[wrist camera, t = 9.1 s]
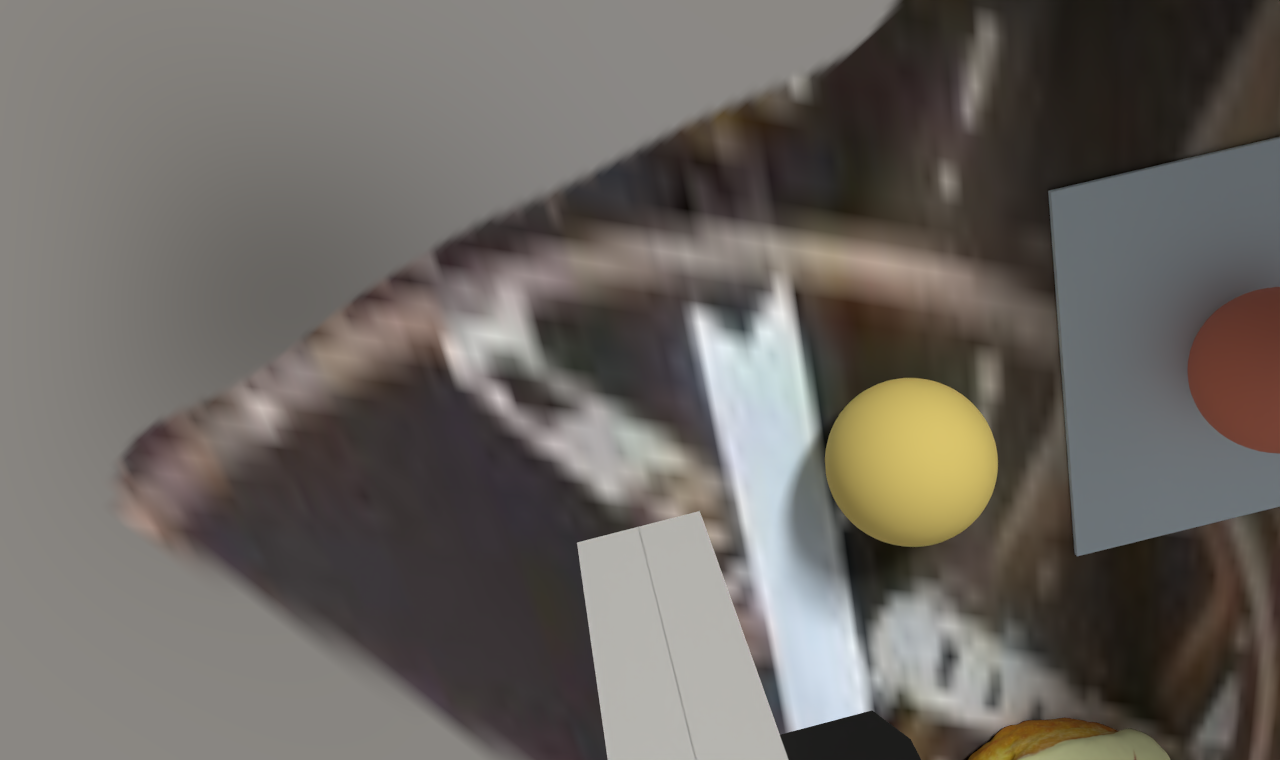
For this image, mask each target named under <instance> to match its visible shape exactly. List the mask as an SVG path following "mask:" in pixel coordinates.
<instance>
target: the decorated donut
mask: <svg viewBox="0 0 1280 760" xmlns="http://www.w3.org/2000/svg"><path fill="white" fill-rule="evenodd" d="M968 760H1170V758H1169V756H1168V754H1167V753H1166V752H1165V751H1164V750H1163V749H1162V748H1161V747H1160V746H1159V745H1158V744H1157V742H1156V741H1155V740H1154V739H1153V738H1152V737H1150V736H1148V735H1146V734H1144V733H1142V732H1140V731H1137V730H1133V729H1123V730H1121V731H1117V730H1115V729H1113V728H1110V727H1108V726H1105V725H1103V724H1100V723H1096V722H1087V721H1083V720H1076V719H1071V718H1059V719H1052V720H1028V721H1024V722H1022V723H1020V724H1018V725H1010V726H1007V727H1004V728H1003V729H1001V730H1000V731H999V732H998V733H997V734H996V735H995V736H994V738H993V739H992V740H991V741H990V742H988V743H986V744H985V745H983V746H982V747H981V748H980V749H979V750H977V751H976V752H974V753H973V754H972V755H971V756H970V757H969V759H968Z"/></svg>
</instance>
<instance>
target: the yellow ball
mask: <svg viewBox="0 0 1280 760" xmlns="http://www.w3.org/2000/svg"><path fill="white" fill-rule="evenodd" d="M825 468H826V477H827V481H828V485H829V488H830V490H831V493H832V496H833V498H834V500H835V501H836V503H837V505H838V507H839V508H840V509H841V511H842V512H843V513H844V515H845V516H846V517H847V518H848V519H849V520H850V521H851V522H852V523H853V524H854V525H855V526H856V527H857V528H859V529H860V530H861V531H863V532H864V533H866V534H868V535H869V536H871V537H873V538H875V539H878V540H880V541H883V542H886V543H889V544H893V545H898V546H906V547H921V546H928V545H933V544H937V543H940V542H943V541H945V540H948V539H950V538H952V537H954V536H956V535H958V534H959V533H961V532H962V531H964V530H965V529H966V528H968V527H969V526H970V525H971V524H972V523H973V522H974V521H975V520H976V519H977V518H978V517H979V516H980V514H981V513H982V512H983V510H984V509H985V507H986V505H987V504H988V502H989V500H990V498H991V496H992V493H993V490H994V487H995V483H996V479H997V472H998V455H997V449H996V444H995V441H994V437H993V434H992V432H991V429H990V427H989V425H988V423H987V421H986V420H985V418H984V417H983V415H982V414H981V413H980V411H979V410H978V409H977V408H976V407H975V406H974V405H973V403H972V402H970V401H969V400H968V399H967V398H966V397H965V396H963V395H962V394H960V393H959V392H957V391H956V390H954V389H952V388H950V387H948V386H946V385H944V384H941V383H938V382H935V381H931V380H927V379H919V378H900V379H893V380H889V381H885V382H882V383H879V384H877V385H875V386H873V387H871V388H869V389H867V390H865V391H863V392H862V393H860V394H859V395H858V396H856V397H855V398H854V399H853V400H852V401H851V402H850V403H849V404H848V405H847V406H846V407H845V408H844V409H843V411H842V412H841V413H840V414H839V416H838V418H837V419H836V421H835V423H834V425H833V427H832V429H831V432H830V434H829V438H828V442H827V446H826V452H825Z"/></svg>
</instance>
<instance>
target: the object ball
mask: <svg viewBox="0 0 1280 760" xmlns="http://www.w3.org/2000/svg"><path fill="white" fill-rule="evenodd" d="M1187 373H1188V382H1189V388H1190V391H1191V395H1192V397H1193V399H1194V402H1195V404H1196V406H1197V408H1198V409H1199V411H1200V413H1201V414H1202V416H1203V417H1204V418H1205V419H1206V420H1207V422H1208V423H1209V424H1210V425H1211V426H1212V427H1213V428H1214V429H1216V430H1217V431H1218V432H1219V433H1220V434H1222V435H1223V436H1225V437H1226V438H1227V439H1229V440H1231V441H1233V442H1235V443H1237V444H1239V445H1242V446H1244V447H1247V448H1250V449H1253V450H1257V451H1261V452H1267V453H1279V454H1280V287H1271V288H1264V289H1259V290H1255V291H1252V292H1249V293H1245V294H1243V295H1241V296H1239V297H1236V298H1234V299H1233V300H1231V301H1229V302H1228V303H1226V304H1224V305H1223V306H1221V307H1220V308H1219V309H1218V310H1216V311H1215V312H1214V313H1213V314H1212V315H1211V316H1210V317H1209V318H1208V319H1207V320H1206V322H1205V323H1204V324H1203V326H1202V327H1201V328H1200V330H1199V332H1198V333H1197V335H1196V337H1195V339H1194V341H1193V344H1192V347H1191V350H1190V354H1189V359H1188V369H1187Z"/></svg>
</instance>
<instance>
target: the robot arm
mask: <svg viewBox="0 0 1280 760" xmlns="http://www.w3.org/2000/svg"><path fill="white" fill-rule="evenodd" d="M577 546H578V553H579V560H580V567H581V574H582V581H583V588H584V595H585V602H586V609H587V616H588V623H589V630H590V637H591V644H592V652H593V659H594V666H595V673H596V680H597V687H598V694H599V701H600V708H601V715H602V722H603V729H604V736H605V743H606V750H607V757H608V760H921V759H920V757H919V755H918V753H917V751H916V749H915V747H914V745H913V743H912V741H911V739H909V738H908V737H907V736H905V735H904V734H903V733H901V732H900V731H899V730H897V729H896V728H895V727H893V726H892V725H891V724H889V723H888V722H887V721H885V720H884V719H883V718H881V717H880V716H879V715H877V714H876V713H875V712H873V711H869V712H865V713H861V714H857V715H854V716H850V717H846V718H842V719H838V720H835V721H831V722H827V723H823V724H819V725H816V726H812V727H808V728H804V729H801V730H797V731H793V732H789V733H785V734H782V735H780V734H779V732H778V729H777V726H776V723H775V720H774V718H773V715H772V712H771V709H770V706H769V704H768V701H767V698H766V695H765V692H764V690H763V687H762V684H761V681H760V678H759V676H758V673H757V670H756V667H755V664H754V662H753V659H752V656H751V653H750V650H749V648H748V645H747V642H746V639H745V637H744V634H743V631H742V628H741V625H740V623H739V620H738V617H737V614H736V611H735V609H734V606H733V603H732V600H731V597H730V595H729V592H728V589H727V586H726V583H725V581H724V578H723V575H722V572H721V569H720V567H719V564H718V561H717V558H716V555H715V553H714V550H713V547H712V544H711V541H710V539H709V536H708V533H707V530H706V528H705V525H704V522H703V519H702V516H701V514H700V511H698V512H694V513H691V514H687V515H683V516H679V517H675V518H671V519H667V520H663V521H660V522H656V523H652V524H648V525H644V526H640V527H636V528H632V529H629V530H625V531H621V532H617V533H613V534H609V535H605V536H601V537H598V538H594V539H590V540H586V541H582V542H578V543H577Z"/></svg>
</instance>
